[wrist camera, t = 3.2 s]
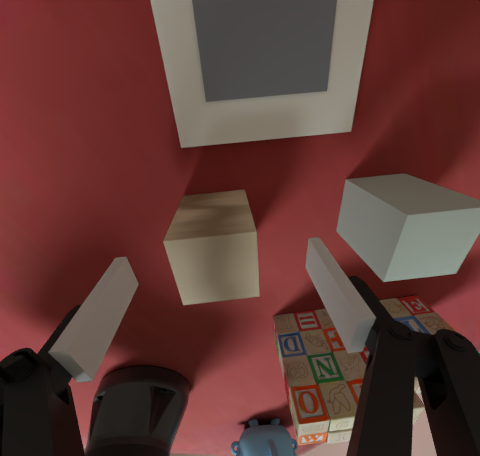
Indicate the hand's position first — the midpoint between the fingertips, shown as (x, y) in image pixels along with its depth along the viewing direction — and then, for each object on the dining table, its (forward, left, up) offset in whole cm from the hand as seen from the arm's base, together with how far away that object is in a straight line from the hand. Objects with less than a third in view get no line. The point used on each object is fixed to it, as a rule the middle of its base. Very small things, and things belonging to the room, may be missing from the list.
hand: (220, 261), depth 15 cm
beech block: (0, 0, -7) cm, 7 cm away
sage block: (+16, 0, -7) cm, 17 cm away
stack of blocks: (+16, -19, -8) cm, 26 cm away
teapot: (+3, -57, -7) cm, 58 cm away
